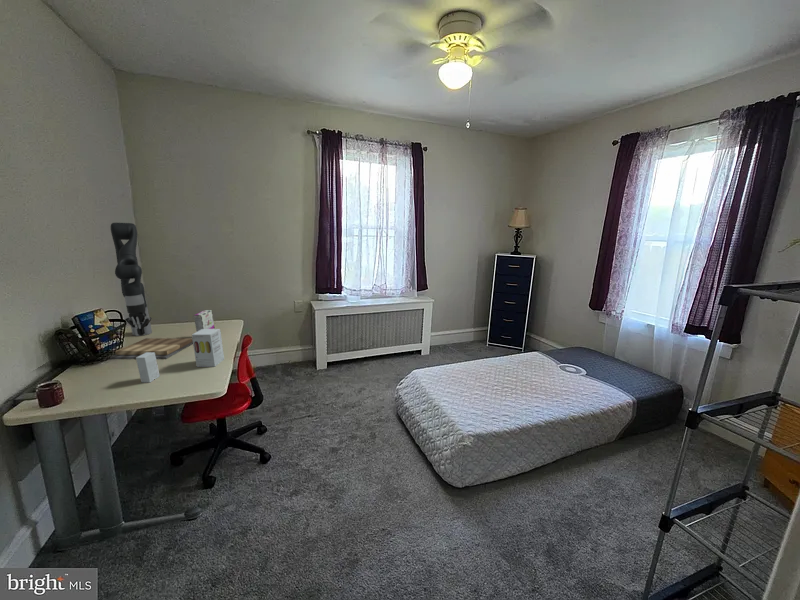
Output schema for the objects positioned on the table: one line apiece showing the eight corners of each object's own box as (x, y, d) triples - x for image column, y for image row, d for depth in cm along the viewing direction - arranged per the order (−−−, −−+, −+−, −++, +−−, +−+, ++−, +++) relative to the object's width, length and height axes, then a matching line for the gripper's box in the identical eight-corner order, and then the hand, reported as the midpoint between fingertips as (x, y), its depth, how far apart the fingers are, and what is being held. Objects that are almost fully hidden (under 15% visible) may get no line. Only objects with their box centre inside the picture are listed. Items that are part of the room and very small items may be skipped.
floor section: (110, 358, 173) (109, 353, 172) (146, 342, 196) (145, 337, 196) (166, 358, 172) (165, 353, 171) (195, 342, 195) (194, 337, 195)
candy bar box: (208, 335, 208) (204, 309, 205) (216, 335, 208) (212, 309, 205) (197, 341, 198) (193, 314, 194) (205, 341, 197) (201, 314, 194)
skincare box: (151, 376, 152) (146, 352, 149) (160, 376, 152) (155, 352, 149) (140, 382, 146) (135, 357, 144) (149, 382, 146) (144, 357, 143)
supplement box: (195, 367, 161) (190, 334, 158) (206, 359, 170) (201, 328, 167) (215, 366, 162) (210, 334, 158) (225, 359, 171) (220, 328, 167)
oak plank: (116, 354, 175) (115, 351, 175) (131, 347, 185) (131, 344, 185) (167, 354, 174) (166, 351, 174) (180, 348, 184) (179, 344, 183)
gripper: (153, 301, 175) (158, 332, 179) (129, 301, 175) (135, 332, 179) (141, 305, 167) (148, 337, 171) (116, 305, 168) (123, 337, 172)
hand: (141, 334), depth 175 cm, fingers closed
